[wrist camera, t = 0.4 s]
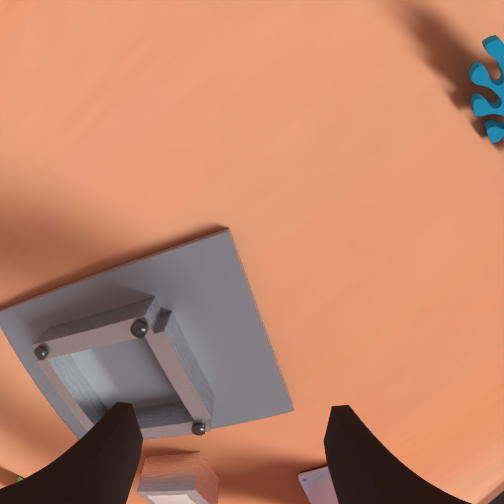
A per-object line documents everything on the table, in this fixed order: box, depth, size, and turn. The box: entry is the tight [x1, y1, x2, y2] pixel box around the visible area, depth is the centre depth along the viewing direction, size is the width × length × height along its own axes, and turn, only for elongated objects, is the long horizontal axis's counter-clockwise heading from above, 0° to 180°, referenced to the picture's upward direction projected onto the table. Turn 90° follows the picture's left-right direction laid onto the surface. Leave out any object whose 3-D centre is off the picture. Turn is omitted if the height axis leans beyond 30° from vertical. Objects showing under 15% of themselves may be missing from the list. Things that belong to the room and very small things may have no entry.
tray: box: [0, 228, 294, 440], centre depth 19 cm, size 14×20×4 cm
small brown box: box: [137, 452, 219, 504], centre depth 23 cm, size 5×6×4 cm
